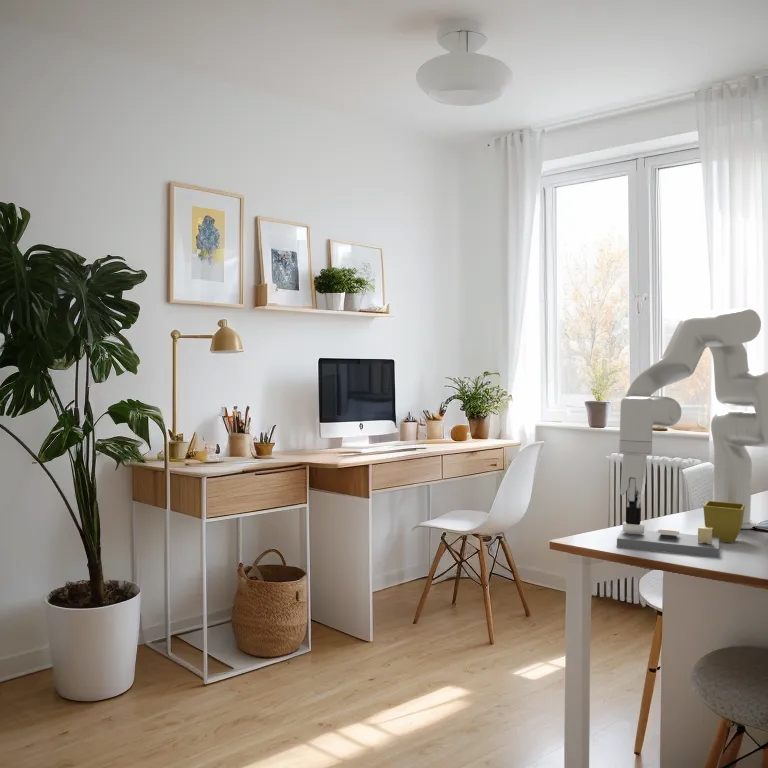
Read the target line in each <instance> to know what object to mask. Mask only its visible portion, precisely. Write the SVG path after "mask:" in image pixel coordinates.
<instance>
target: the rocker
mask: <svg viewBox="0 0 768 768" xmlns="http://www.w3.org/2000/svg"><path fill="white" fill-rule="evenodd" d="M657 531H658V533H659V534H669V535H679V533H680V529H679V530H677V529H666V528H659V529H658V530H657Z"/></svg>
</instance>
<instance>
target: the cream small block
mask: <svg viewBox="0 0 768 768" xmlns="http://www.w3.org/2000/svg"><path fill="white" fill-rule="evenodd" d="M697 535H698V542H703V543H712V528H708V527H705V526H698V527H697Z"/></svg>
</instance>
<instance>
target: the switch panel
mask: <svg viewBox="0 0 768 768" xmlns="http://www.w3.org/2000/svg"><path fill="white" fill-rule="evenodd" d="M623 547H624V549H634V550H643V551H651V552H652V551H653V552H663V553H670V554H671V553H672V554H680V555H690V556H699V557H709V558H715V559H716V558H717V559H719V558H720V541H719V537H712V543H703V542H698V534H688V533H680V532H679V535H669V534H659V533H658V530H657V531H656V530H648V529H644V533H643V534H630V533H625V532H623V529H622V530H621V531H620V532H619V534H618V536H617V538H616V548H623Z"/></svg>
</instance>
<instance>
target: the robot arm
mask: <svg viewBox="0 0 768 768" xmlns="http://www.w3.org/2000/svg"><path fill="white" fill-rule="evenodd" d="M761 326H762V321H761V317H760V315H759V314H758V313H757V312H756V311H755V310H754V309H752V308H733V309H731V308H730V309H712V310H706V311H705V310H704V311H700V312H698V313H697V314H690V315H687V316H685V317H683V318H681V320H680V321H679V322H678V324H677V326H676V327H675V330H674V332H673V334H672V336H671V338H670V340H669V342H668V343H667V344H668V345H667V346H666V347H665V350H664V353H663V354H662V356H661V358H660V359H659V360H658V361H656V362H655V363H653V364H652V365H650V366H649V367H648V368H646V369H645V370H644V371H643V372H642V373H640V374H639V375H638V376H637V377H636V378H635V379H634V380H633V381H632V383H631V385H630V386H629V388H628V390H627V392H626V394H625V396H624V397H623V398H622V399H621V401H620V415H619V416H620V417H619V418H620V419H619V446H618V454H621V455H622V462H621V475H620V476H621V479H620V489H619V491H620V492H619V493H620V495H621V496H624V495H625V494H626V507H625V508H626V509H625V522H626V524H635V525H639V524H640V523H641V511H642V507H641V497H642V495H644V493H645V485H646V479H647V478H646V477H647V457H648V456H652V455H653V454H652V453H653V430H654V429H653V428H654V427H656V428H671V427H673V426H676V424H677V423H678V422H679V421H680V419H681V416H682V412H683V411H682V408H681V405H680V403H679V402H678V401H677V400H676V399H674V398H673V397H670V396H669V397H668V396H657V395H656V396H655V395H653V394H654V393H656V392H657V391H658V390H660V389H663V388H665V387H666V386H669V385H672V384H674V383H675V384H676V383H678V382H680V381H682V380H685V379H687V378H689V377H691V376H692V375H693V374H694V373H695V371H696V369H697V367H698V365H699V361H700V360H701V357H702V355H703V353H704V352H705V349H707V348H708V349H709V350H710V353H711V355H712V360H713V372H714V374H713V375H714V390H715V397H716V399H717V401H718V402H719V403H720V404H723V405H727V406H733V407H734V406H737V407H751V408H752V407H753V408H754V410H753V411H752V410H743V409H742V410H741V409H726V410H721V411H719V412H717V413H715V414H714V416H713V417H712V419H711V424H710V431H711V436H712V442H713V443H712V444H713V478H712V479H713V486H712V501H717V502H728V503H738V504H745V509H744V516H743V522H742V526H741V529H740V530H747V529H753V528H752V527H753V526H755V525H756V526H757V522H756V521H754V520H751V509H752V508H751V506H752V505H751V503H752V473H753V471H752V470H753V463H752V457H751V456H750V454H749V452H748V450H747V449H746V447H754V448H768V371H764V370H763V371H762V370H750V369H749V363H748V354H747V350H746V348H745V346H744V344H745V343H748V342H752V341H753V340H755V339H756V338H757V337H758V335H759V333H760V331H761Z"/></svg>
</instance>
